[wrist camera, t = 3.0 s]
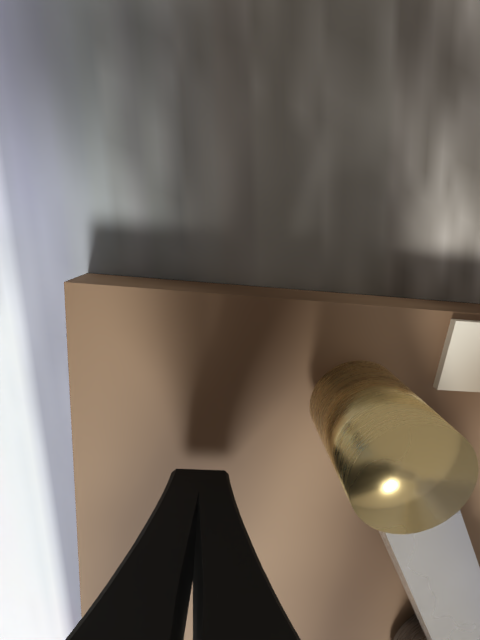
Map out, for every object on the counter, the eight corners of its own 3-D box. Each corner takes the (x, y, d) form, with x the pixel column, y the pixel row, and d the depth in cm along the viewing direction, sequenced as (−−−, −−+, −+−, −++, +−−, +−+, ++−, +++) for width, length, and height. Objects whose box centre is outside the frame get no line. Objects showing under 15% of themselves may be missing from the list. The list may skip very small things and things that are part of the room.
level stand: (709, 322, 11) (794, 339, 10) (533, 685, 16) (570, 738, 14) (87, 273, 10) (60, 283, 8) (101, 690, 15) (86, 751, 13)
